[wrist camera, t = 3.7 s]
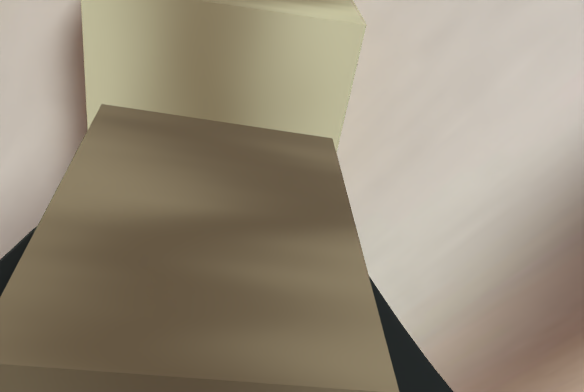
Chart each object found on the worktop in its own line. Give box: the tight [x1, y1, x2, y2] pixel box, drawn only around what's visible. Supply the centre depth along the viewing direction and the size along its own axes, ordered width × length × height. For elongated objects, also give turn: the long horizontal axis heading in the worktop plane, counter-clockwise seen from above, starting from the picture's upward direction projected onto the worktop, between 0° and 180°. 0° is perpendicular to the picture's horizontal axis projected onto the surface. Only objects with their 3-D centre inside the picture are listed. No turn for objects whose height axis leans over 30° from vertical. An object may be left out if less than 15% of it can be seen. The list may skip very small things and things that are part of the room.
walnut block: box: [0, 104, 399, 392], centre depth 9 cm, size 4×4×6 cm
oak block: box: [81, 0, 366, 152], centre depth 17 cm, size 7×7×3 cm
